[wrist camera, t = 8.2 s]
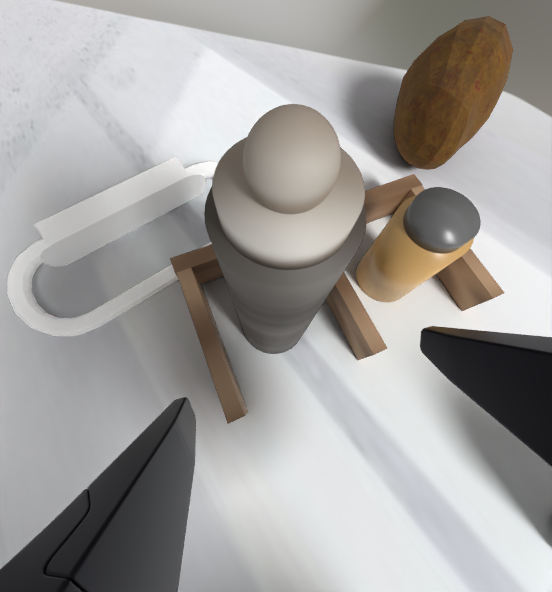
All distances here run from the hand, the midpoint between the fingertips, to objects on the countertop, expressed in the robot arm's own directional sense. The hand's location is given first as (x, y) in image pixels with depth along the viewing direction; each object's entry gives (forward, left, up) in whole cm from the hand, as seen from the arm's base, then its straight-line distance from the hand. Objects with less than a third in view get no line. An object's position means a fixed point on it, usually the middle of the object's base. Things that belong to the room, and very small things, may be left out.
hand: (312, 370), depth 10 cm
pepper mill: (+4, -1, -9) cm, 10 cm away
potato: (+16, -22, -10) cm, 29 cm away
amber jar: (+4, -10, -9) cm, 15 cm away
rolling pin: (+14, +6, -10) cm, 19 cm away
